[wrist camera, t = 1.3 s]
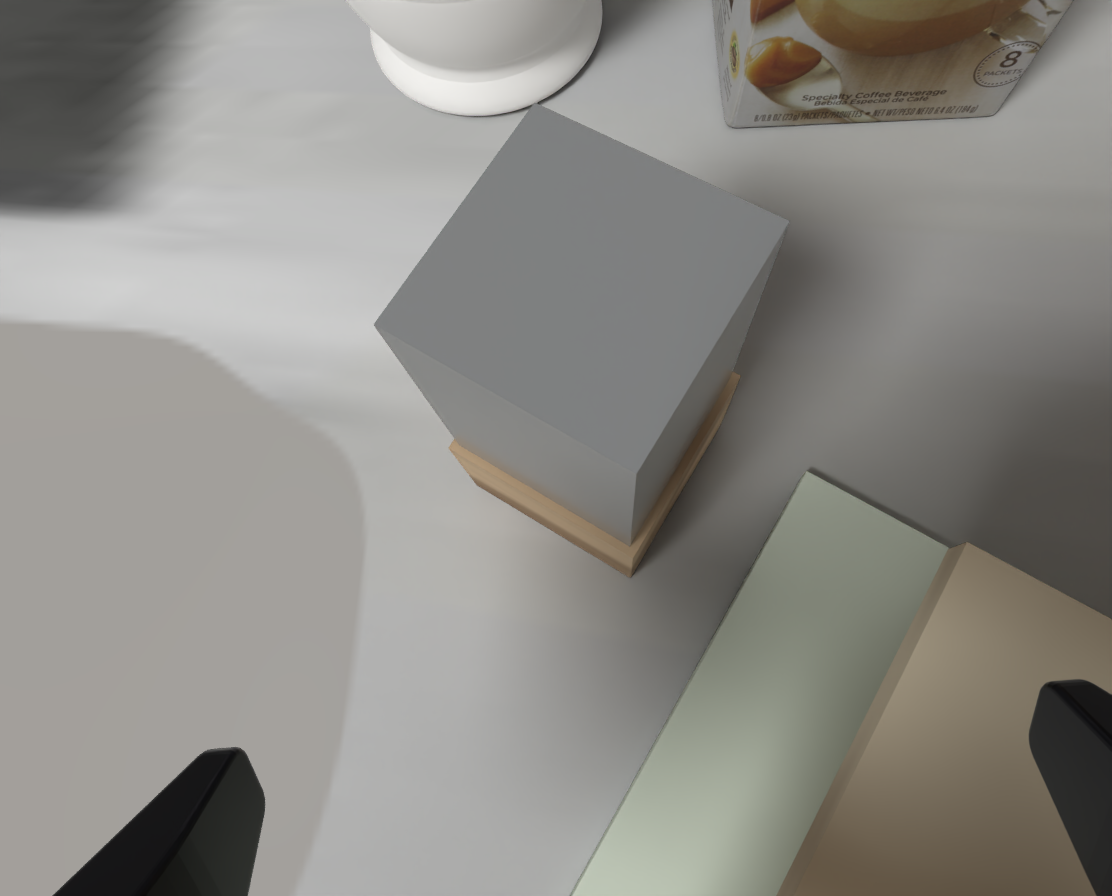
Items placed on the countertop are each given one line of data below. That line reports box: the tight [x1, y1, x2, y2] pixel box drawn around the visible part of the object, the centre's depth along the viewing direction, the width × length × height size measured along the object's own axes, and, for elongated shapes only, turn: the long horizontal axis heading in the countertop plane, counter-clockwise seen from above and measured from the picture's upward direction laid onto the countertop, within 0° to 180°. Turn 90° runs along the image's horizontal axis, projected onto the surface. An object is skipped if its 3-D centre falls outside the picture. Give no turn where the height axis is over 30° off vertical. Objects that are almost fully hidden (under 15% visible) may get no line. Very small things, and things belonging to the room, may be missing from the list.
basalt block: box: [374, 103, 790, 547], centre depth 16 cm, size 5×5×7 cm
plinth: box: [449, 372, 741, 578], centre depth 21 cm, size 5×5×4 cm
